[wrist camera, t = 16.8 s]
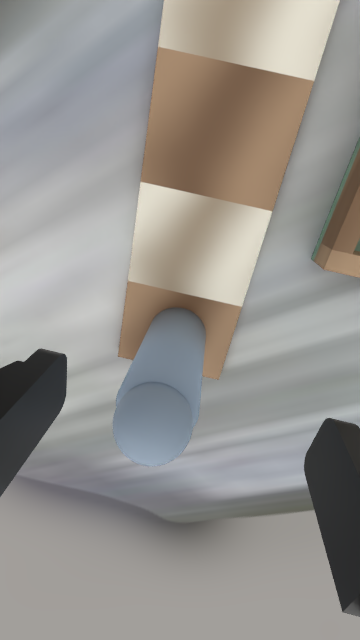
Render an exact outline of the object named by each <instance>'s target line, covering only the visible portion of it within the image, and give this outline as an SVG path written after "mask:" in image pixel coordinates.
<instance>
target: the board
mask: <svg viewBox="0 0 360 640" xmlns="http://www.w3.org/2000/svg"><path fill="white" fill-rule="evenodd" d="M339 2H340V0H164V5H163V13H162V20H161V28H160V36H159V43H158V51H157V59H156V67H155V74H154V82H153V90H152V97H151V105H150V113H149V121H148V128H147V136H146V144H145V152H144V159H143V167H142V175H141V182H140V190H139V198H138V206H137V213H136V221H135V229H134V237H133V244H132V252H131V260H130V267H129V275H128V283H127V291H126V298H125V306H124V314H123V322H122V329H121V337H120V345H119V352H118V357H123V358H127V359H131V360H134V358H135V356H136V354H137V352H138V350H139V347H140V345H141V343H142V341H143V339H144V337H145V335H146V333H147V331H148V329H149V327H150V325H151V322H152V321H153V319H154V317H155V316H156V315H157V314H158V313H160V312H161V311H163V310H165V309H168V308H174V307H178V308H184V309H187V310H190V311H192V312H193V313H195V314H196V315H197V316H198V317H199V318H200V319H201V321H202V322H203V324H204V326H205V330H206V340H205V352H204V363H203V374H202V376H204V377H209V378H213V379H217V380H219V377H220V374H221V371H222V368H223V364H224V361H225V358H226V355H227V352H228V349H229V346H230V343H231V339H232V336H233V333H234V330H235V327H236V324H237V321H238V318H239V314H240V311H241V308H242V305H243V302H244V299H245V296H246V293H247V289H248V286H249V283H250V280H251V277H252V274H253V271H254V268H255V264H256V261H257V258H258V255H259V252H260V249H261V246H262V242H263V239H264V236H265V233H266V230H267V227H268V224H269V221H270V217H271V214H272V211H273V208H274V205H275V202H276V199H277V196H278V192H279V189H280V186H281V183H282V180H283V177H284V174H285V171H286V167H287V164H288V161H289V158H290V155H291V152H292V149H293V145H294V142H295V139H296V136H297V133H298V130H299V127H300V124H301V120H302V117H303V114H304V111H305V108H306V105H307V102H308V99H309V95H310V92H311V89H312V86H313V83H314V80H315V77H316V74H317V70H318V67H319V64H320V61H321V58H322V55H323V52H324V49H325V45H326V42H327V39H328V36H329V33H330V30H331V27H332V23H333V20H334V17H335V14H336V11H337V8H338V5H339Z"/></svg>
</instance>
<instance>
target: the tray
mask: <svg viewBox="0 0 360 640" xmlns="http://www.w3.org/2000/svg"><path fill="white" fill-rule="evenodd" d="M311 259H312V260H313V261H314V262H315V263H317V264H318V265H319V266H320V267H321V268H322V269H324V270H328V271H332V272H337V273H341V274H346V275H350V276H354V277H359V278H360V138H359V140H358V143H357V145H356V148H355V150H354V153H353V155H352V158H351V160H350V163H349V165H348V168H347V170H346V173H345V175H344V178H343V180H342V183H341V185H340V188H339V190H338V193H337V195H336V198H335V200H334V203H333V205H332V208H331V210H330V213H329V215H328V218H327V220H326V223H325V225H324V228H323V230H322V233H321V235H320V238H319V240H318V243H317V245H316V248H315V250H314V253H313V255H312V258H311Z"/></svg>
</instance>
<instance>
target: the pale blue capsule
mask: <svg viewBox="0 0 360 640" xmlns="http://www.w3.org/2000/svg"><path fill="white" fill-rule="evenodd" d="M205 340H206V330H205V326H204V324H203V322H202V321H201V319H200V318H199V317H198V316H197V315H196V314H195V313H193V312H192V311H190V310H187V309H184V308H178V307H174V308H168V309H165V310H163V311H161V312H160V313H158V314H157V315H156V316H155V317H154V319H153V321H152V322H151V325H150V327H149V329H148V331H147V333H146V335H145V337H144V339H143V341H142V343H141V345H140V347H139V350H138V352H137V354H136V356H135V358H134V360H133V362H132V364H131V366H130V368H129V370H128V373H127V375H126V377H125V379H124V381H123V383H122V385H121V387H120V389H119V391H118V394H117V398H116V410H115V413H114V417H113V433H114V438H115V441H116V443H117V445H118V447H119V449H120V450H121V451H122V453H123V454H124V455H125V456H126V457H127V458H129V459H130V460H132V461H133V462H135V463H137V464H140V465H144V466H160V465H163V464H166V463H168V462H170V461H172V460H174V459H175V458H176V457H178V456H179V455H180V454H181V453H182V452H183V450H184V449H185V448H186V446H187V444H188V442H189V440H190V437H191V434H192V429H193V427H194V426H195V424H196V422H197V420H198V417H199V408H200V397H201V386H202V374H203V363H204V352H205Z"/></svg>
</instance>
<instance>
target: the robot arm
mask: <svg viewBox="0 0 360 640" xmlns="http://www.w3.org/2000/svg"><path fill="white" fill-rule="evenodd" d="M66 380H67V357H66V355H65V354H62V353H58V352H53V351H49V350H45V349H38V350H37V351H36V352H35V353H33V354H32V355H31V356H30V357H29V358H28V359H27V360H26V361H25V362H22V361H16V362H13V363H11V364H9V365H7V366H5V367H2V368H0V496H1V495H2V494H3V492H4V491H5V489H6V488H7V486H8V485H9V484H10V482H11V481H12V480H13V478H14V477H15V475H16V474H17V472H18V471H19V470H20V468H21V467H22V465H23V464H24V462H25V461H26V460H27V458H28V457H29V455H30V454H31V453H32V451H33V450H34V448H35V447H36V445H37V444H38V443H39V441H40V440H41V438H42V437H43V435H44V434H45V433H46V431H47V430H48V428H49V427H50V426H51V424H52V423H53V421H54V420H55V418H56V417H57V416H58V414H59V413H60V411H61V409H62V407H63V404H64V401H65V397H66ZM304 471H305V476H306V480H307V484H308V487H309V491H310V495H311V498H312V502H313V506H314V509H315V513H316V516H317V520H318V524H319V528H320V531H321V535H322V539H323V542H324V545H325V549H326V553H327V557H328V560H329V564H330V568H331V571H332V575H333V579H334V582H335V586H336V590H337V593H338V597H339V601H340V604H341V608H342V611H343V612H344V613H347V614H351V615H355V616H359V617H360V428H359V427H358V426H357V425H356V424H352V423H348V422H344V421H340V420H336V419H331V418H327V419H326V420H325V421H324V422H323V424H322V425H321V427H320V429H319V431H318V433H317V435H316V437H315V438H314V440H313V442H312V444H311V446H310V448H309V449H308V451H307V453H306V457H305V462H304Z"/></svg>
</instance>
